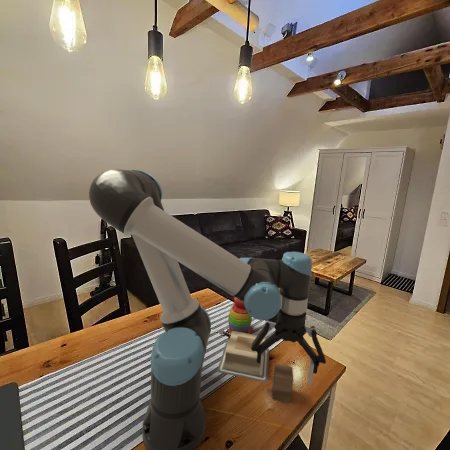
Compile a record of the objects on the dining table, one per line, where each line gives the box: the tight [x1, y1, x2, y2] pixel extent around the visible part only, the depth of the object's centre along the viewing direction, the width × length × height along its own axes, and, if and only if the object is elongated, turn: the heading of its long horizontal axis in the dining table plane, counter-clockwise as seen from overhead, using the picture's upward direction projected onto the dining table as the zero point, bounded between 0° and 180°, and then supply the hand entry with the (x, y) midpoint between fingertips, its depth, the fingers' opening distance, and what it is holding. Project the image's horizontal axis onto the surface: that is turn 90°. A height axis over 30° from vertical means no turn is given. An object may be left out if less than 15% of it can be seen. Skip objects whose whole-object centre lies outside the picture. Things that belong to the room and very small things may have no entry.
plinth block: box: [224, 331, 266, 376], centre depth 87 cm, size 12×12×6 cm
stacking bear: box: [227, 296, 254, 334], centre depth 101 cm, size 11×10×18 cm
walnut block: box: [271, 363, 294, 404], centre depth 74 cm, size 5×5×8 cm
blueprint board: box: [216, 340, 270, 383], centre depth 87 cm, size 16×16×1 cm
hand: (284, 376), depth 73 cm, fingers open, 13 cm apart
